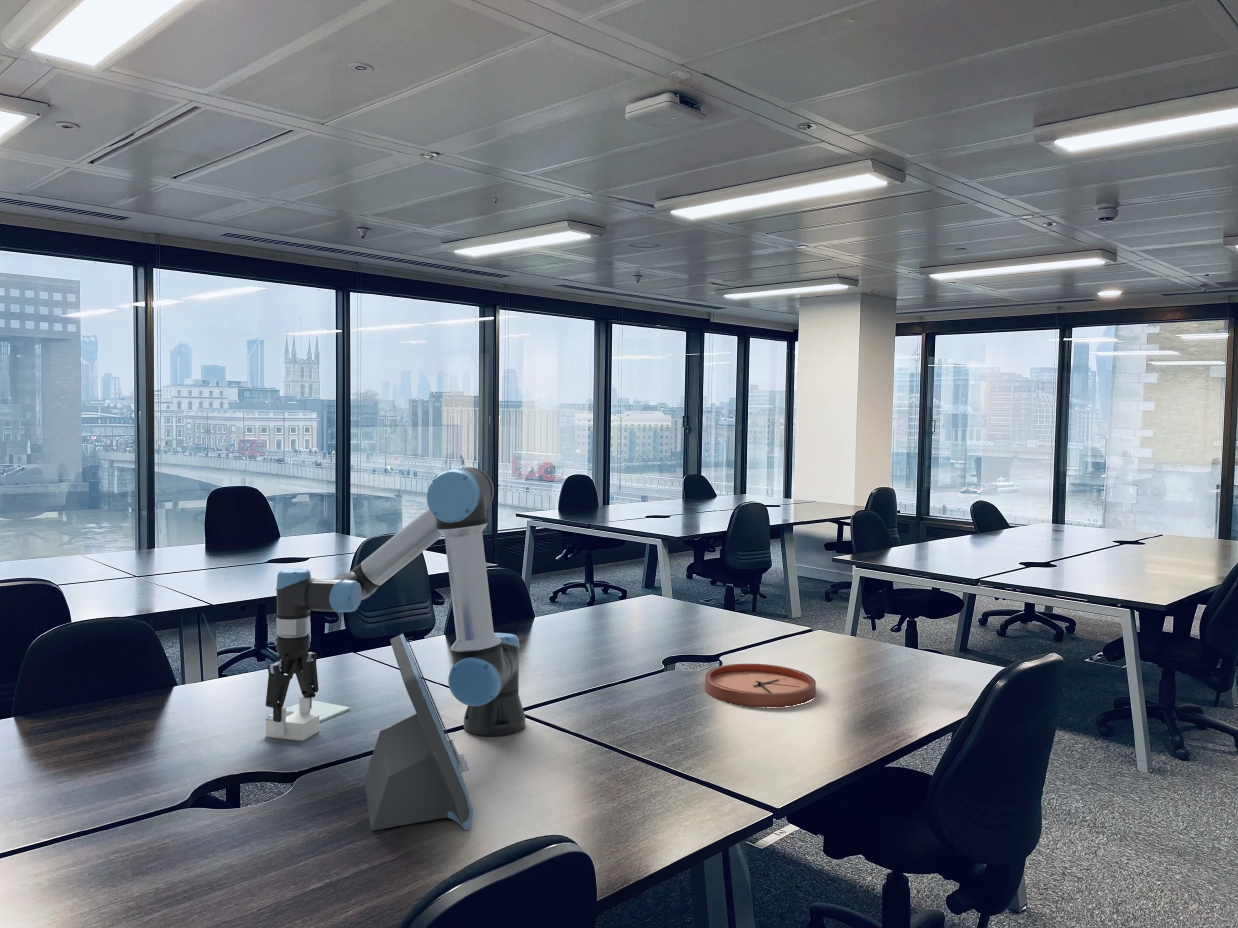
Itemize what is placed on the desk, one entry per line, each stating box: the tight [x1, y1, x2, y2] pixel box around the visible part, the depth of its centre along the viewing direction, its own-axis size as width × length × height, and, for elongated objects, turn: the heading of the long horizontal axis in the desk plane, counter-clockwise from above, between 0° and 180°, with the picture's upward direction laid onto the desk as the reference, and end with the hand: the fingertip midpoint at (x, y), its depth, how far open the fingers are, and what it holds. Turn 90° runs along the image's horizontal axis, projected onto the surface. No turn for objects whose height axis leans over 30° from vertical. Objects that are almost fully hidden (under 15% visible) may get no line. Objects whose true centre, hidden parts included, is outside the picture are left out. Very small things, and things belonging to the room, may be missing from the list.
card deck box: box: [265, 711, 320, 742], centre depth 206 cm, size 10×6×4 cm, turn 77°
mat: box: [267, 699, 351, 724], centre depth 221 cm, size 14×14×1 cm
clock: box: [704, 663, 817, 709], centre depth 247 cm, size 31×4×31 cm
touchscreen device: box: [364, 633, 474, 832], centre depth 171 cm, size 35×20×30 cm, turn 19°
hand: (292, 728), depth 206 cm, fingers closed on card deck box, 7 cm apart
